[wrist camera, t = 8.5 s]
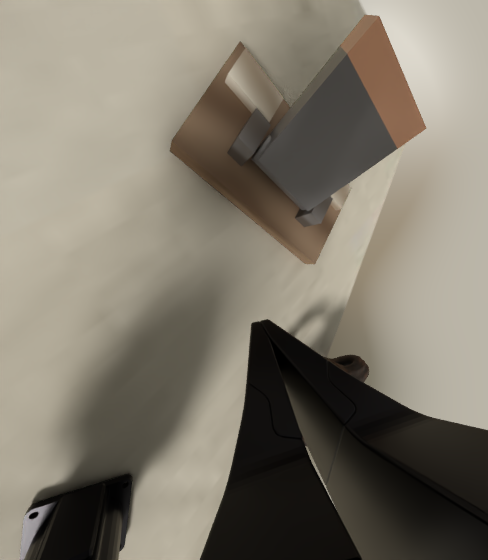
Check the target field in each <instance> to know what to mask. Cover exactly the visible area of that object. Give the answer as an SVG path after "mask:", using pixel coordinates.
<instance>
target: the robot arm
mask: <svg viewBox="0 0 488 560" xmlns="http://www.w3.org/2000/svg"><path fill="white" fill-rule="evenodd" d="M300 431H301V432H300ZM301 433H302V435H301ZM302 436H303V438H304V440H305V442H306V444H307V446H308V448H309V451H310V453H311V455H312V457H313V459H314V462H315V464H316V466H317V468H318V470H319V472H320V474H321V477H322V479H323V481H324V483H325V485H326V488H327V490H328V492H329V494H330V496H331V498H332V501H333V503H334V504H333V503H332V501H331V499H330V497H329V495H328V493H327V491H326V489H325V487H324V485H323V483H322V482H321V480H320V478H319V476H318V474H317V472H316V470H315V468H314V466H313V464H312V462H311V460H310V458H309V455H308V452H307V450H306V447H305V444H304V441H303V438H302ZM125 482H127V483H125ZM131 488H132V475H130V474H127V475H124V476H120V477H117V478H114V479H111V480H107V481H104V482H101V483H98V484H95V485H91V486H88V487H85V488H82V489H79V490H75V491H72V492H69V493H66V494H63V495H59V496H56V497H53V498H50V499H46V500H43V501H40V502H37V503H35V504H33V505H32V506H30V507H29V509H28V510H27V512H26V514H25V517H24V521H23V531H22V541H21V551H20V560H118V558H119V552H120V551H121V550H122V549H123V547H124V545H125V538H126V530H127V522H128V513H129V505H130V496H131ZM334 505H335V506H334ZM335 507H336V508H335ZM336 509H337V510H336ZM33 512H35V513H33ZM200 560H488V430H484V429H480V428H476V427H471V426H467V425H462V424H458V423H454V422H449V421H445V420H440V419H436V418H432V417H429V416H426V415H423V414H421V413H418V412H416V411H414V410H411V409H409V408H408V407H406V406H404V405H401V404H400V403H398V402H396V401H395V400H393V399H391V398H390V397H388V396H386V395H384V394H383V393H381V392H379V391H377V390H376V389H374V388H372V387H370V386H369V385H366V384H365V383H363V382H362V381H360V380H358V379H357V378H355V377H353V376H352V375H350V374H348V373H347V372H345V371H344V370H342V369H341V368H339V367H338V366H336V365H335V364H333V363H332V362H330V361H328V360H327V359H326V358H324V357H323V356H321V355H320V354H318V353H317V352H315V351H314V350H313V349H311V348H310V347H308V346H307V345H305V344H304V343H302V342H301V341H299V340H298V339H296V338H295V337H294V336H292V335H291V334H289V333H288V332H286V331H285V330H283V329H282V328H280V327H279V326H277V325H276V324H275V323H273V322H272V321H270V320H268V319H266V320H262V321H260V322H259V321H257V322H253V323H252V324H251V334H250V346H249V358H248V371H247V384H246V394H245V402H244V409H243V414H242V420H241V425H240V429H239V434H238V439H237V443H236V448H235V453H234V457H233V462H232V466H231V470H230V474H229V478H228V482H227V485H226V489H225V492H224V495H223V498H222V501H221V503H220V506H219V509H218V512H217V514H216V517H215V520H214V522H213V525H212V528H211V531H210V533H209V536H208V539H207V542H206V544H205V547H204V550H203V552H202V555H201V558H200Z"/></svg>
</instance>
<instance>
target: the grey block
mask: <svg viewBox="0 0 488 560" xmlns="http://www.w3.org/2000/svg"><path fill="white" fill-rule="evenodd" d="M425 129H426V126H425V124H424V122H423V119H422V117H421V114H420V112H419V110H418V107H417V105H416V103H415V100H414V98H413V96H412V93H411V91H410V88H409V86H408V84H407V81H406V79H405V77H404V74H403V72H402V69H401V67H400V64H399V62H398V60H397V57H396V55H395V52H394V50H393V48H392V45H391V43H390V41H389V38H388V36H387V33H386V31H385V29H384V26H383V24H382V22H381V19H380V17H379V16H373V15H364V17H363V18H362V19H361V20H360V22H359V23H358V24H357V25H356V27H355V28H354V29H353V30H352V32H351V33H350V34H349V35H348V37H347V38H346V39H345V40H344V42H343V43H342V44H341V45H340V47H339V48H338V49H337V50H336V52H335V53H334V54H333V55H332V57H331V58H330V59H329V60H328V62H327V63H326V64H325V65H324V67H323V68H322V69H321V70H320V72H319V73H318V74H317V75H316V77H315V78H314V79H313V80H312V82H311V83H310V84H309V85H308V87H307V88H306V89H305V90H304V92H303V93H302V94H301V95H300V97H299V98H298V99H297V100H296V102H295V103H294V104H293V105H292V107H291V108H290V109H289V110H288V112H287V113H286V114H285V115H284V117H283V118H282V119H281V121H280V122H279V123H278V124H277V126H276V127H275V128H274V129H273V131H272V132H271V133H270V134H269V135H268V136H267V137H266V138H265V139H264V140H263V141H262V143H261V144H260V145H259V147H258V148H257V150H256V151H255V153H254V154H253V156H252V158H251V159H252V160H253V161H254V162H255V163H256V164H257V165H258V166H259V167H260V168H261V170H262V171H263V172H264V173H265V174H266V175H267V176H268V177H269V178H270V179H271V180H272V181H273V182H274V183H275V184H276V185H277V186H278V187H279V188H280V189H281V190H282V191H283V192H284V193H285V194H286V195H287V196H288V197H289V198H290V199H291V200H292V201H293V202H294V203H295V204H296V205H297V206H298V207H299V208H300V209H301V210H307V211H310V210H311V209H313V208H314V207H315V206H317V205H318V204H320V203H321V202H323V201H324V200H325V199H327V198H328V197H330V196H331V195H332V194H334V193H335V192H337V191H338V190H340V189H341V188H342V187H344V186H345V185H347V184H348V183H350V182H351V181H352V180H354V179H355V178H357V177H358V176H359V175H361V174H362V173H364V172H365V171H367V170H368V169H369V168H371V167H372V166H374V165H375V164H377V163H378V162H379V161H381V160H382V159H384V158H385V157H386V156H388V155H389V154H391V153H392V152H394V151H395V150H396V149H398V148H399V147H401V146H402V145H404V144H405V143H406V142H408V141H409V140H411V139H412V138H413V137H415V136H416V135H417V134H419V133H421V132H422V131H423V130H425Z"/></svg>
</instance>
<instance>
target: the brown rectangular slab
mask: <svg viewBox="0 0 488 560" xmlns="http://www.w3.org/2000/svg"><path fill="white" fill-rule="evenodd" d="M289 109H290V107H289V105H288V104H287V103H286V101H285V100H284V97H283V96H282V95H281V93H280V92H279V91H278V89H277V88H276V87H275V85H274V84H273V83H272V81H271V80H270V79H269V77H268V76H267V75H266V73H265V72H264V71H263V69H262V68H261V67H260V65H259V64H258V63H257V61H256V60H255V59H254V57H253V56H252V55H251V53H250V52H249V51H248V49H247V48H245V47H244V45H243V44H242V43H241V41H240V42H239V44H238V45H237V47H236V48H235V50H234V51H233V52H232V54H231V55H230V57H229V58H228V60H227V61H226V63H225V64H224V66H223V67H222V68H221V70H220V71H219V73H218V74H217V76H216V77H215V79H214V80H213V82H212V83H211V84H210V86H209V87H208V89H207V90H206V92H205V93H204V95H203V96H202V97H201V99H200V100H199V102H198V103H197V105H196V106H195V108H194V109H193V111H192V112H191V113H190V115H189V116H188V118H187V119H186V121H185V122H184V124H183V125H182V127H181V128H180V129H179V131H178V132H177V134H176V135H175V137H174V138H173V140H172V142H171V148H170V151H171V152H172V153H173V154H174V155H175V156H177V157H178V158H179V159H180V160H181V161H183V162H184V163H185V164H186V165H187V166H189V167H190V168H191V169H192V170H193V171H195V172H196V173H197V174H198V175H199V176H201V177H202V178H203V179H204V180H205V181H207V182H208V183H209V184H210V185H211V186H213V187H214V188H215V189H216V190H217V191H219V192H220V193H221V194H222V195H223V196H225V197H226V198H227V199H228V200H229V201H231V202H232V203H233V204H234V205H235V206H237V207H238V208H239V209H240V210H241V211H243V212H244V213H245V214H246V215H247V216H249V217H250V218H251V219H252V220H253V221H255V222H256V223H257V224H258V225H259V226H261V227H262V228H263V229H264V230H265V231H267V232H268V233H269V234H270V235H271V236H273V237H274V238H275V239H276V240H277V241H279V242H280V243H281V244H282V245H283V246H285V247H286V248H287V249H288V250H289V251H291V252H292V253H293V254H294V255H295V256H297V257H298V258H299V259H300V260H301V261H303V262H304V263H305V264H315V263H316V261H317V259H318V257H319V255H320V253H321V250H322V248H323V246H324V244H325V242H326V240H327V238H328V236H329V234H330V232H331V230H332V228H333V225H334V223H335V221H336V219H337V217H338V215H339V213H340V211H341V209H342V207H343V205H344V203H345V201H346V199H347V197H348V195H349V193H350V191H351V189H352V188H351V187H350V186H349V184H347V185H345V186H344V187H342V188H341V189H340V190H338V191H337V192H335V193H334V194H332V195H331V196H330V197H328V198H327V199H325V200H324V201H323V202H321V203H320V204H318V205H317V206H315V207H314V208H313V209H311V210H310V211H307V210H301V209H300V208H299V207H298V206H297V205H296V204H295V203H294V202H293V201H292V200H291V199H290V198H289V197H288V196H287V195H286V194H285V193H284V192H283V191H282V190H281V189H280V188H279V187H278V186H277V185H276V184H275V183H274V182H273V181H272V180H271V179H270V178H269V177H268V176H267V175H266V174H265V173H264V172H263V171H262V170H261V168H260V167H259V166H258V165H257V164H256V163H255V162H254V161H253V160H252V159H251V158H252V156H253V154H254V153H255V151H256V150H257V148H258V147H259V145H260V144H261V143H262V141H263V140H264V139H265V138H266V137H267V136H268V135H269V134H270V133H271V132H272V131H273V129H274V128H275V127H276V126H277V124H278V123H279V122H280V121H281V119H282V118H283V117H284V115H285V114H286V113H287V112H288V110H289Z"/></svg>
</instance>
